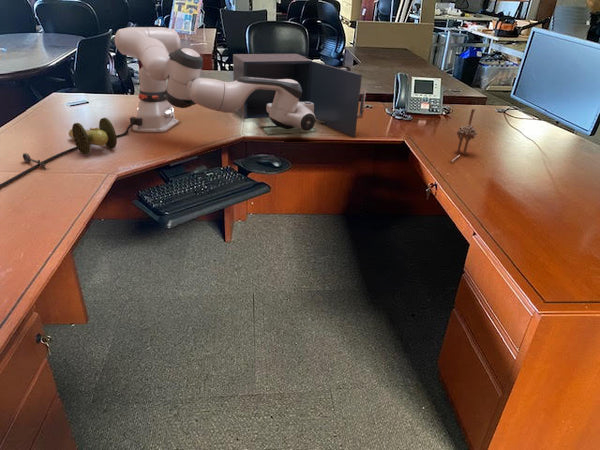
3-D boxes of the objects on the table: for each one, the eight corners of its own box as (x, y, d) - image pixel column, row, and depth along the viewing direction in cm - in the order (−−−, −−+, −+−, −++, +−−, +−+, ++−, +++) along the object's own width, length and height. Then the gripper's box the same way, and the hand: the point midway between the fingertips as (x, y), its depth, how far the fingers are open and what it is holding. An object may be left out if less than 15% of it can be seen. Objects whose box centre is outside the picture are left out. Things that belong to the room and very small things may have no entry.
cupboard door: (320, 116, 219) (323, 60, 206) (364, 134, 197) (372, 73, 184) (308, 117, 216) (312, 61, 203) (353, 136, 193) (359, 74, 180)
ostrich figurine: (456, 149, 186) (466, 106, 177) (472, 153, 182) (483, 109, 174) (442, 160, 173) (452, 114, 165) (459, 164, 170) (470, 118, 161)
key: (23, 161, 152) (20, 152, 151) (26, 161, 153) (23, 151, 151) (44, 170, 147) (42, 160, 145) (47, 169, 148) (45, 159, 146)
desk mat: (315, 131, 198) (315, 130, 198) (268, 134, 191) (268, 133, 191) (301, 119, 213) (301, 119, 212) (256, 122, 205) (256, 121, 205)
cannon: (59, 141, 171) (52, 112, 165) (89, 135, 179) (84, 107, 173) (90, 159, 157) (84, 128, 151) (121, 152, 165) (117, 122, 159)
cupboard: (309, 117, 217) (312, 60, 204) (244, 121, 206) (243, 61, 193) (294, 106, 233) (297, 53, 220) (234, 109, 222) (232, 54, 209)
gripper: (271, 120, 186) (262, 111, 197) (316, 117, 193) (304, 109, 204) (271, 105, 183) (262, 97, 194) (317, 103, 190) (305, 95, 201)
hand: (284, 103), depth 199 cm, fingers closed on steel tumbler, 6 cm apart
